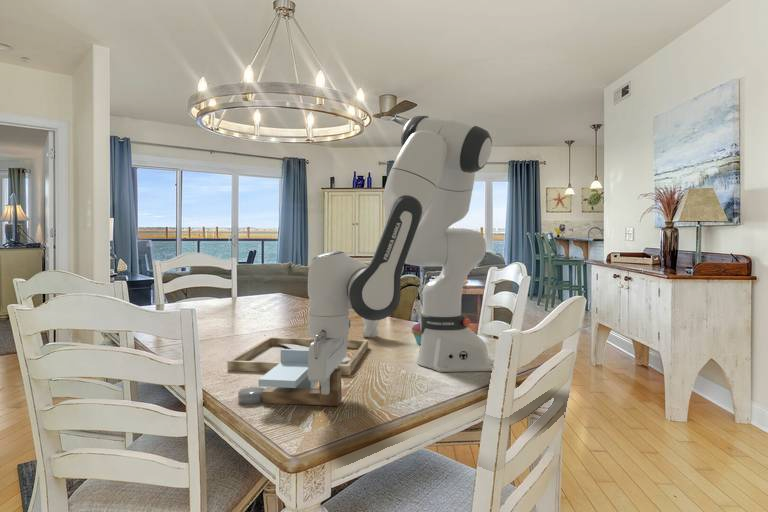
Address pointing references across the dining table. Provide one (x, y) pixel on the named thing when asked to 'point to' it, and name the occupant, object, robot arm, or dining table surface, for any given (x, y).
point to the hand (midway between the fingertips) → (328, 389)
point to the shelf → (289, 371)
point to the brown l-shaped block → (306, 394)
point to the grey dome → (250, 395)
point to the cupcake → (417, 331)
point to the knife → (293, 346)
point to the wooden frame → (241, 360)
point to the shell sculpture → (370, 325)
